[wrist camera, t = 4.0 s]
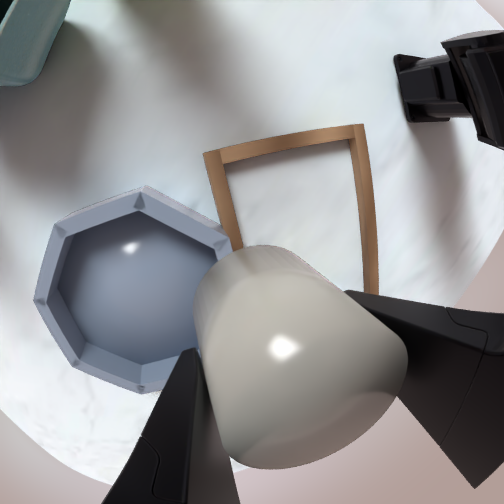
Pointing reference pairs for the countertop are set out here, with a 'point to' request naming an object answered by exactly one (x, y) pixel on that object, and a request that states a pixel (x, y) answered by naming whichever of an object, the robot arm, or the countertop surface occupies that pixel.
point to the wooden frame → (294, 140)
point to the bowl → (127, 285)
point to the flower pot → (27, 37)
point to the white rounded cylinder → (290, 359)
